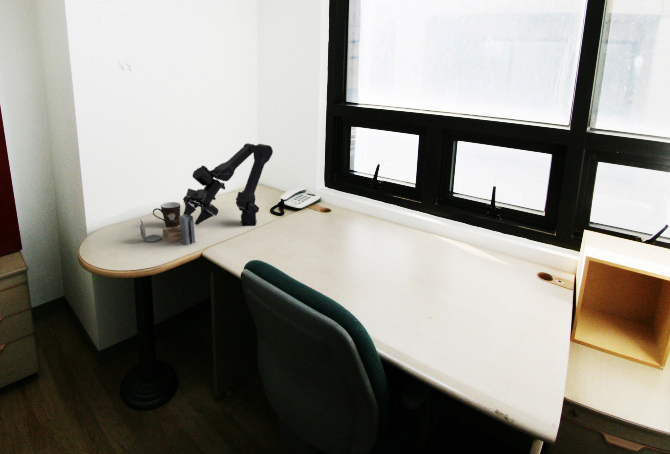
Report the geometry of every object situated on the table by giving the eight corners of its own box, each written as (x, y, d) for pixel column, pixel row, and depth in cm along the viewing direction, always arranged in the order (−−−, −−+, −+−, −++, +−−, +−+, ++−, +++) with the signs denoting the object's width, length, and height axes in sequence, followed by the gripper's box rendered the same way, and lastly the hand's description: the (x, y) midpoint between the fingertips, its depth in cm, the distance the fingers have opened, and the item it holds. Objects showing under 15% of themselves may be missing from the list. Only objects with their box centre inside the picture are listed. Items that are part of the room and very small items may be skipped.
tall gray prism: (189, 240, 193) (187, 213, 189) (195, 242, 191) (192, 216, 187) (181, 242, 190) (178, 216, 186) (187, 245, 188) (184, 218, 184)
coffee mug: (185, 222, 214) (183, 202, 210) (177, 228, 206) (175, 208, 202) (162, 221, 215) (159, 201, 211) (153, 227, 207) (150, 206, 203)
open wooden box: (185, 232, 202) (185, 224, 201) (192, 238, 195) (191, 231, 194) (163, 236, 197) (162, 229, 195) (169, 243, 190) (168, 235, 189)
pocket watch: (164, 238, 194) (161, 216, 191) (149, 245, 187) (146, 222, 184) (150, 235, 198) (147, 213, 194) (135, 241, 190) (132, 219, 187)
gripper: (184, 177, 192) (163, 207, 188) (210, 185, 181) (188, 217, 177) (201, 191, 201) (182, 220, 196) (227, 200, 190) (207, 230, 185)
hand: (189, 221), depth 189 cm, fingers open, 9 cm apart
